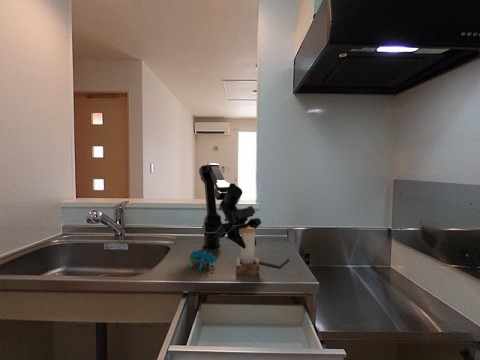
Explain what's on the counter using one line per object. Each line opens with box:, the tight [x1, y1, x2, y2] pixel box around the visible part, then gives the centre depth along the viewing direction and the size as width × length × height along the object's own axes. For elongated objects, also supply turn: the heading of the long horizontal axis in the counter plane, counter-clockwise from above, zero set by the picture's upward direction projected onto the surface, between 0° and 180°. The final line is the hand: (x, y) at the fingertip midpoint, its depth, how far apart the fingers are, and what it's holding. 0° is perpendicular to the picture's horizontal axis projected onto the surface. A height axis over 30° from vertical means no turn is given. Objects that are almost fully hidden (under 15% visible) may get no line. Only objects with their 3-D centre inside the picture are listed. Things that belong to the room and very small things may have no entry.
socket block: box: [235, 257, 260, 276], centre depth 103 cm, size 8×8×4 cm
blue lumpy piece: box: [187, 249, 217, 271], centre depth 105 cm, size 11×6×10 cm
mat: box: [258, 253, 290, 269], centre depth 113 cm, size 10×10×1 cm
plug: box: [240, 227, 256, 265], centre depth 102 cm, size 5×5×14 cm
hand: (250, 246), depth 101 cm, fingers closed on plug, 5 cm apart
